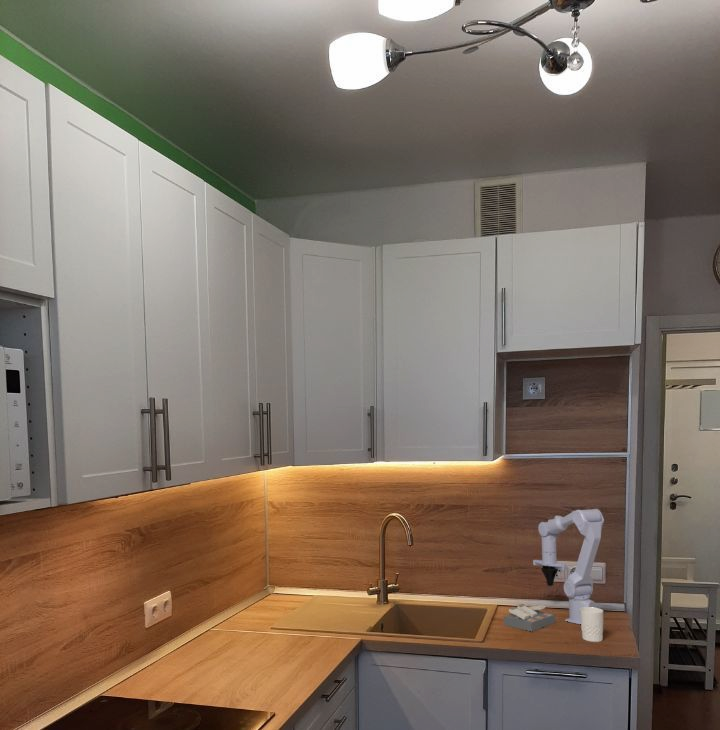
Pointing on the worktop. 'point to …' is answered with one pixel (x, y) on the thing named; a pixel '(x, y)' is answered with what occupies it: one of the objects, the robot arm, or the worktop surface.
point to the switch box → (530, 621)
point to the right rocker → (537, 607)
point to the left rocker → (518, 613)
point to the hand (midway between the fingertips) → (550, 585)
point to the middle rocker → (527, 610)
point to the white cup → (591, 624)
